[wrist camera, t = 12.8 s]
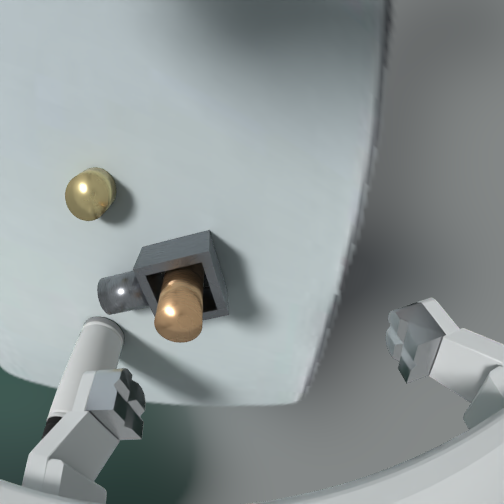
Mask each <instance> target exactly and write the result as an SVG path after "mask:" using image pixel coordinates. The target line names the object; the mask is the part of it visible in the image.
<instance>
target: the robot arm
mask: <svg viewBox="0 0 504 504" xmlns="http://www.w3.org/2000/svg"><path fill="white" fill-rule="evenodd" d="M388 321H389V323H390V325H391V326H390V327H389V328H388V330H387V331H386V344H387V348H388V351H389V353H390V355H391V357H392V358H393V359H395V360H397V361H399V366H398V369H399V371H400V373H401V375H402V376H403V378H404V380H405V382H406V383H410V382H412V381H415V380H417V379H420V378H423V377H426V376H428V375H429V376H430V377H431V378H433V379H434V380H436V381H437V382H439V383H440V384H442V385H444V386H445V387H447V388H448V389H450V390H451V391H453V392H454V393H456V394H458V395H459V396H461V397H463V398H464V399H466V400H467V401H469V402H470V403H471V404H470V406H469V407H468V409H467V410H466V412H465V413H464V416H463V420H464V421H465V423H466V425H467V427H468V429H469V430H467V431H465V432H464V433H462V434H460V435H458V436H457V437H455V438H453V439H451V440H449V441H447V442H445V443H443V444H441V445H439V446H437V447H435V448H433V449H431V450H429V451H427V452H425V453H423V454H421V455H419V456H416V457H414V458H412V459H410V460H407V461H405V462H402V463H400V464H398V465H395V466H393V467H390V468H387V469H385V470H382V471H380V472H377V473H374V474H371V475H368V476H366V477H363V478H359V479H356V480H353V481H350V482H347V483H343V484H340V485H337V486H333V487H330V488H326V489H322V490H318V491H314V492H310V493H306V494H301V495H296V496H291V497H286V498H281V499H275V500H270V501H263V502H257V503H249V504H504V344H501V343H499V342H497V341H494V340H492V339H489V338H487V337H485V336H482V335H480V334H477V333H475V332H472V331H470V330H468V329H465V328H461V329H459V327H458V326H457V325H456V324H455V322H453V320H452V319H451V317H450V316H449V315H448V314H447V313H446V312H445V310H444V309H443V308H442V307H441V305H440V304H439V303H438V302H437V301H436V300H435V299H434V298H432V297H430V298H428V299H425V300H422V301H419V302H416V303H413V304H410V305H407V306H404V307H402V308H398V309H396V310H393V311H391V312H390V313H389V317H388ZM144 411H145V396H144V392H143V390H142V388H141V386H140V385H139V384H138V383H136V382H135V381H133V380H132V374H131V373H130V371H129V370H128V369H126V368H122V369H109V370H96V371H86V372H85V373H84V374H83V375H82V378H81V381H80V385H79V388H78V391H77V395H76V398H75V402H74V405H73V409H72V411H68V412H67V413H66V414H65V415H64V416H63V418H62V419H61V420H60V421H59V422H58V423H57V424H56V425H55V426H54V427H53V428H52V429H51V430H50V432H49V433H48V434H47V435H46V436H45V437H44V438H43V439H42V440H41V442H39V444H38V445H37V446H36V447H35V448H34V449H33V450H32V451H31V452H30V453H29V457H28V461H27V465H26V469H25V473H24V478H23V483H22V486H19V485H16V484H13V483H10V482H7V481H4V480H1V479H0V504H106V493H107V491H106V490H105V489H104V488H103V487H101V486H99V485H98V484H96V483H95V482H94V480H95V478H96V477H97V475H98V474H99V472H100V471H101V469H102V468H103V466H104V465H105V463H106V461H107V460H108V458H109V457H110V455H111V454H112V452H113V450H114V449H115V448H116V446H117V444H118V443H119V440H133V439H142V431H143V423H144V422H143V420H142V419H141V417H140V416H141V414H142V413H143V412H144Z"/></svg>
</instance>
